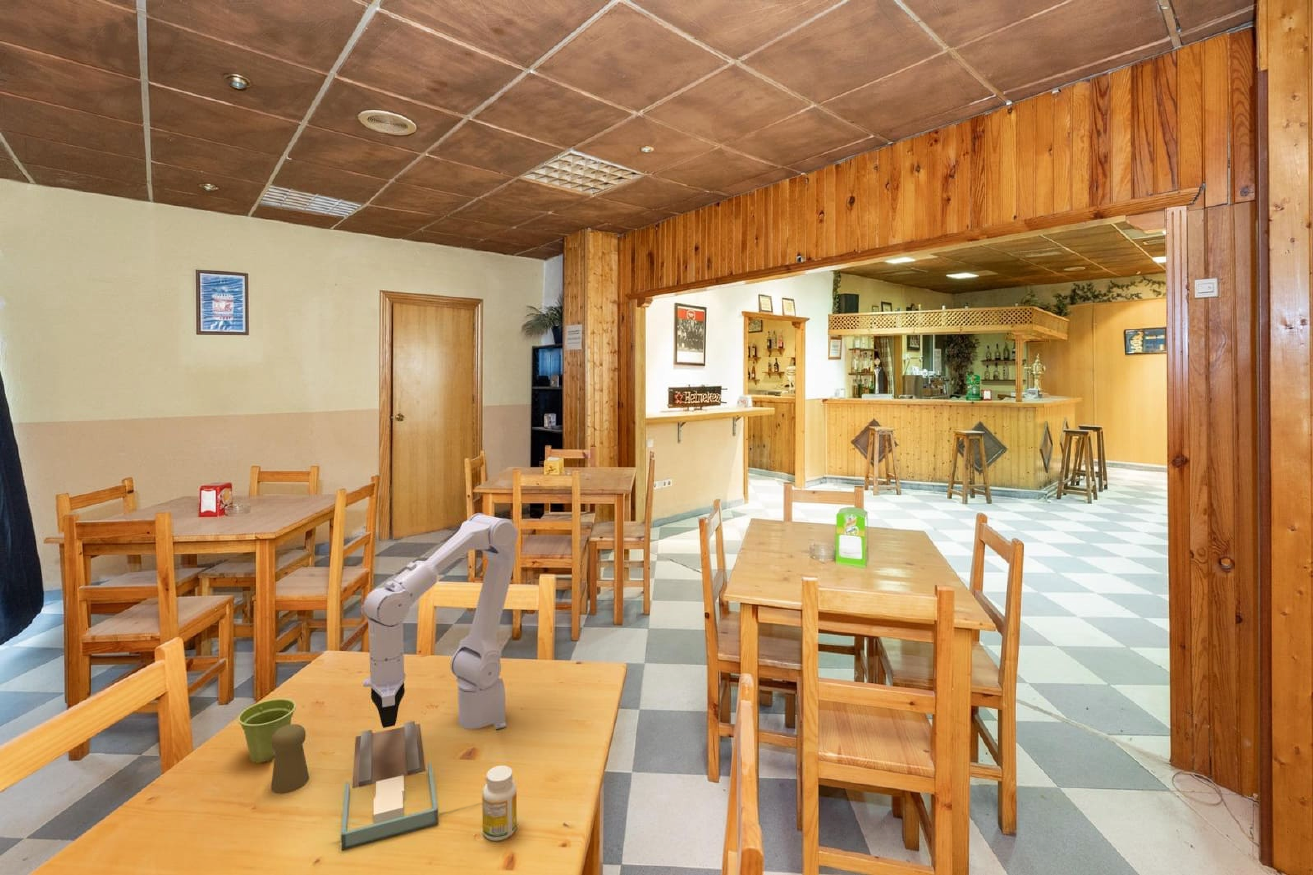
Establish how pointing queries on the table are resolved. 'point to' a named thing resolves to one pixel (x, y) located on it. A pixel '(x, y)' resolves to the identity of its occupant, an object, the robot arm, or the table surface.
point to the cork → (289, 759)
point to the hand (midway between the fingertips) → (389, 725)
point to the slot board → (388, 754)
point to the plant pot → (265, 726)
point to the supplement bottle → (499, 804)
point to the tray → (388, 822)
